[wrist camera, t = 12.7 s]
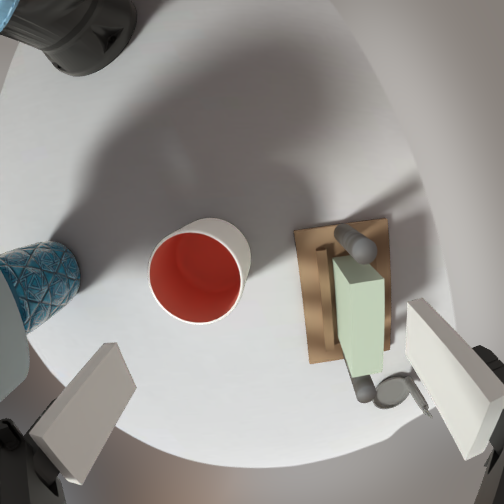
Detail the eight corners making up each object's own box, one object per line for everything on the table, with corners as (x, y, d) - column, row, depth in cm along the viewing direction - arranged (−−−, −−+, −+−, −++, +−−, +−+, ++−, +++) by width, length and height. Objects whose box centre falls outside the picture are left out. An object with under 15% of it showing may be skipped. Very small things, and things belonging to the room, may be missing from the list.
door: (332, 257, 38) (349, 284, 28) (366, 252, 37) (393, 277, 27) (337, 335, 40) (352, 377, 30) (368, 330, 39) (390, 370, 30)
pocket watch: (364, 403, 44) (378, 445, 34) (388, 362, 42) (409, 403, 32) (403, 408, 44) (420, 446, 34) (427, 370, 42) (451, 406, 32)
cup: (243, 209, 38) (231, 220, 28) (258, 285, 40) (253, 318, 31) (168, 225, 39) (136, 240, 30) (186, 296, 41) (162, 329, 32)
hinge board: (293, 228, 38) (299, 248, 27) (384, 216, 37) (421, 230, 26) (309, 361, 42) (316, 411, 32) (387, 347, 41) (413, 391, 30)
